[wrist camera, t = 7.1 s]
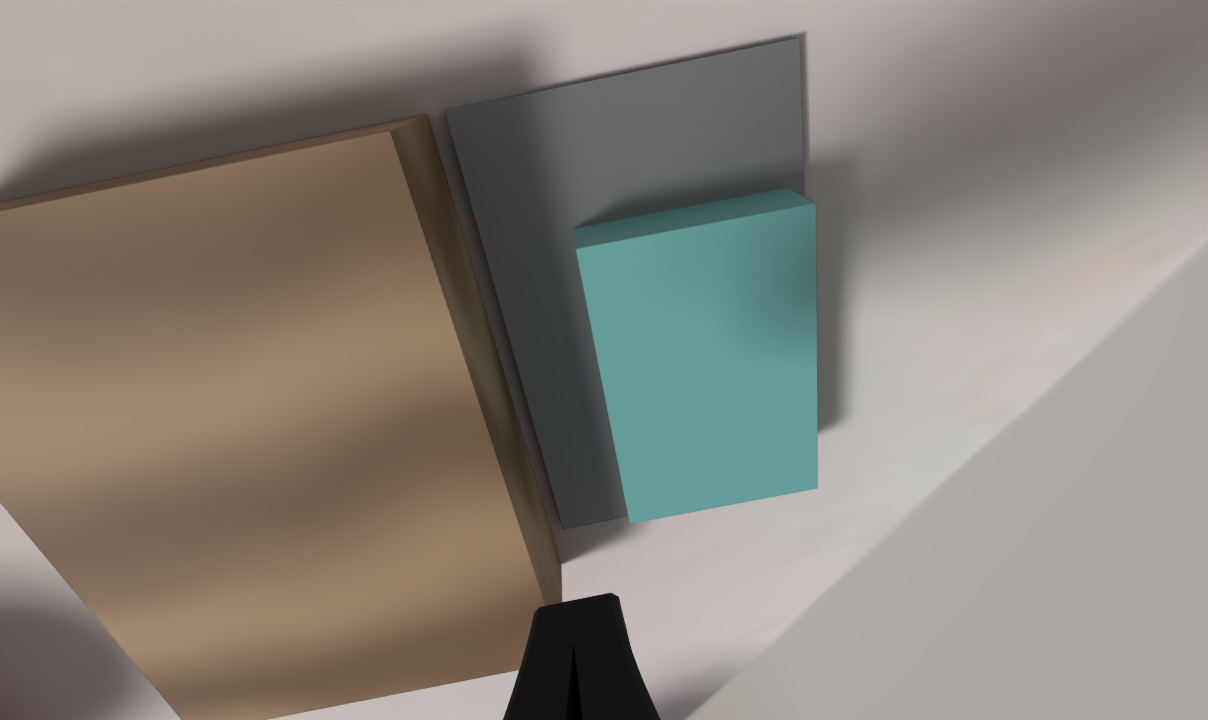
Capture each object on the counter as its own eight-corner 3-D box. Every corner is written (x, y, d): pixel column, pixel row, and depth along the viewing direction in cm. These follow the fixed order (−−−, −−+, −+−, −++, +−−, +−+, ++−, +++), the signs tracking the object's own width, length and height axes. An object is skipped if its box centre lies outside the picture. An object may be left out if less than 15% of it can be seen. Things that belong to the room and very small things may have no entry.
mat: (809, 474, 21) (812, 479, 21) (562, 523, 22) (563, 529, 21) (795, 38, 15) (799, 37, 15) (446, 110, 15) (444, 111, 15)
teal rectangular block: (629, 523, 19) (622, 483, 21) (817, 488, 19) (794, 451, 21) (575, 248, 15) (572, 228, 17) (815, 203, 15) (787, 187, 16)
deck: (561, 565, 22) (563, 661, 19) (249, 627, 23) (193, 733, 19) (427, 114, 15) (389, 131, 12) (-32, 208, 15) (-208, 254, 12)
